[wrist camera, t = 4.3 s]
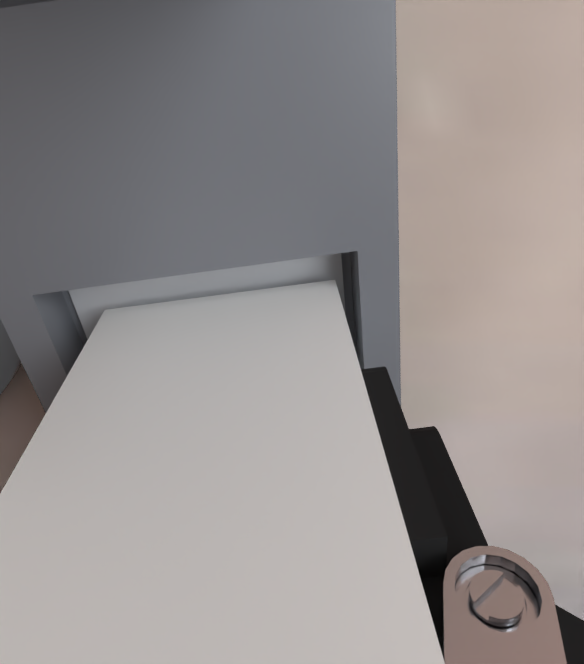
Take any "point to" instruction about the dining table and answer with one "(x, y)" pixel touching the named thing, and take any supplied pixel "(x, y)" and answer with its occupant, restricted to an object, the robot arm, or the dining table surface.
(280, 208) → the power strip
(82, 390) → the block
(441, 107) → the dining table surface
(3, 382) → the slate coaster
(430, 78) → the dining table surface
